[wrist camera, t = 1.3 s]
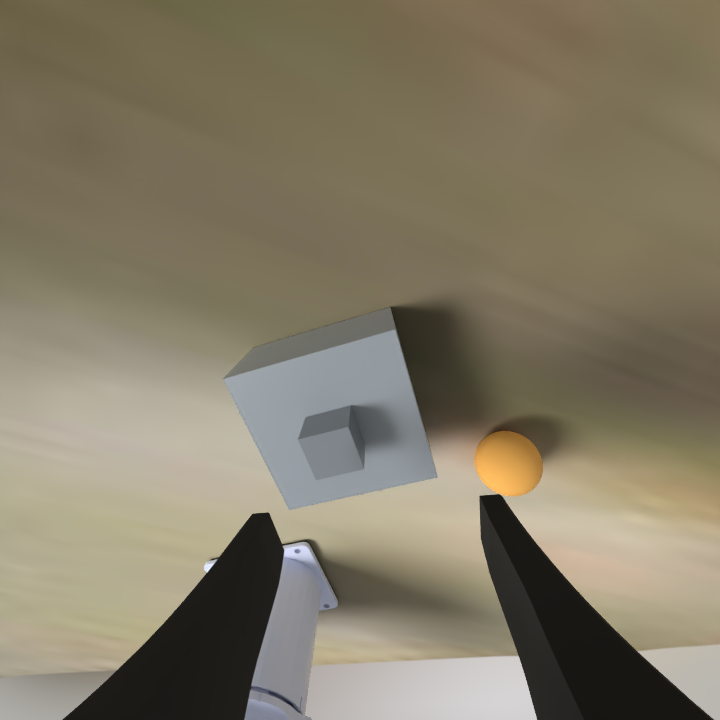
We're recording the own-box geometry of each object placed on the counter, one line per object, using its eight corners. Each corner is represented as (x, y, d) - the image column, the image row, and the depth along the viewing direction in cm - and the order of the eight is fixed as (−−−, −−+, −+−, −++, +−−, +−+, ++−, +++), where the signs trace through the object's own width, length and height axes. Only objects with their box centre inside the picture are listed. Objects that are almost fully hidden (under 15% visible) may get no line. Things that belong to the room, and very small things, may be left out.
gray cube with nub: (303, 459, 24) (280, 539, 18) (253, 347, 21) (204, 398, 15) (425, 429, 23) (444, 505, 17) (390, 306, 20) (398, 343, 14)
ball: (473, 472, 24) (491, 516, 21) (462, 427, 23) (480, 465, 19) (529, 459, 24) (558, 503, 20) (522, 412, 22) (552, 450, 19)
